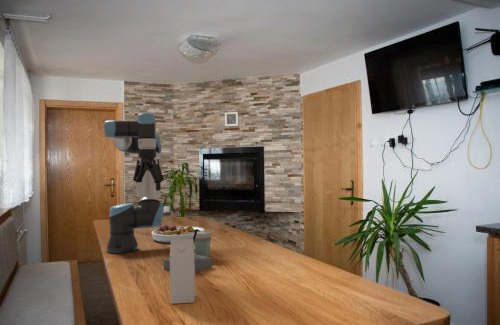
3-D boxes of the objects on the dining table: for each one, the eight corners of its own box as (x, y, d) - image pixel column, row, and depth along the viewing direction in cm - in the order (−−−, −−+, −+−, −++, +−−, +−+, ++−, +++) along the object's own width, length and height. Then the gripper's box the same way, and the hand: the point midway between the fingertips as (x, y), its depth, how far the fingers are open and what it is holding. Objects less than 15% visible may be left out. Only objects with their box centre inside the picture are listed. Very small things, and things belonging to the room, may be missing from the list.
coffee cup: (208, 261, 169) (208, 234, 169) (190, 261, 170) (189, 233, 170) (214, 256, 177) (213, 230, 177) (196, 256, 179) (196, 230, 179)
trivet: (163, 269, 158) (163, 258, 158) (190, 262, 168) (190, 252, 168) (184, 275, 149) (184, 264, 149) (211, 267, 159) (211, 257, 159)
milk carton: (173, 296, 125) (172, 237, 125) (195, 295, 126) (194, 237, 126) (170, 304, 118) (169, 242, 118) (194, 303, 119) (192, 241, 119)
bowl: (215, 236, 227) (214, 223, 228) (180, 246, 202) (179, 231, 202) (177, 232, 244) (177, 220, 244) (140, 241, 218) (140, 227, 218)
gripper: (124, 150, 174) (125, 196, 174) (156, 147, 157) (157, 199, 157) (139, 150, 180) (140, 195, 180) (171, 147, 163) (172, 197, 163)
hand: (148, 197), depth 168 cm, fingers open, 13 cm apart
